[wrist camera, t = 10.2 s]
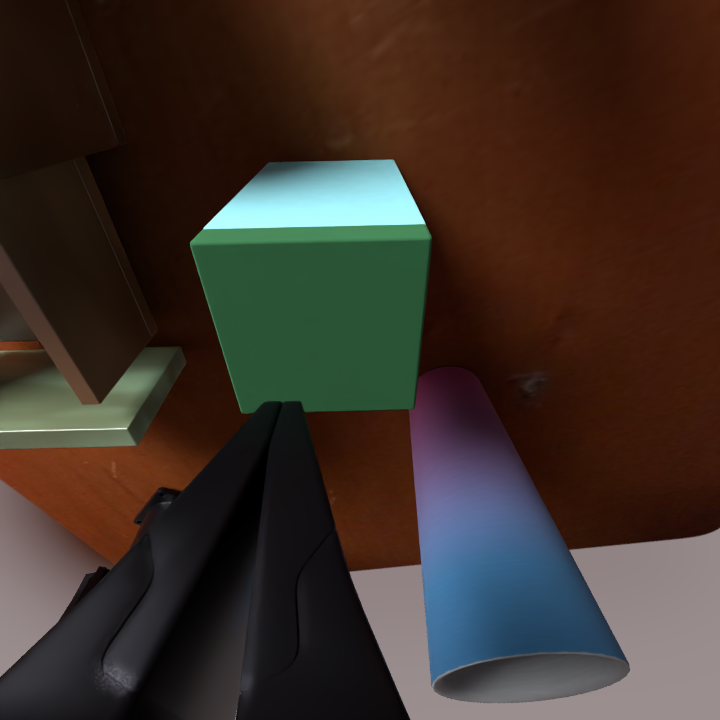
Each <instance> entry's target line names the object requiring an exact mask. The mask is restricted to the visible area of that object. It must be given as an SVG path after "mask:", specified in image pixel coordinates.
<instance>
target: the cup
mask: <svg viewBox="0 0 720 720" xmlns="http://www.w3.org/2000/svg"><path fill="white" fill-rule="evenodd" d="M409 421H410V433H411V445H412V457H413V469H414V481H415V493H416V505H417V517H418V529H419V541H420V553H421V565H422V577H423V589H424V601H425V613H426V625H427V637H428V649H429V661H430V671H431V672H430V673H431V685H432V688H433V689H434V691H435V692H436V693H438V694H439V695H441V696H444V697H447V698H450V699H455V700H460V701H468V702H480V703H517V702H532V701H541V700H549V699H556V698H563V697H569V696H573V695H578V694H583V693H587V692H590V691H594V690H598V689H601V688H604V687H607V686H609V685H612V684H613V683H616V682H618V681H620V680H621V679H623V678H624V677H625V676H626V675H627V674H628V673H629V671H630V668H629V663H628V661H627V660H626V657H625V655H624V654H623V652H622V650H621V648H620V646H619V644H618V642H617V640H616V639H615V637H614V635H613V633H612V631H611V629H610V627H609V625H608V623H607V621H606V620H605V618H604V616H603V614H602V612H601V610H600V608H599V606H598V604H597V602H596V600H595V599H594V597H593V595H592V593H591V591H590V589H589V587H588V585H587V583H586V582H585V580H584V578H583V576H582V574H581V572H580V570H579V568H578V566H577V564H576V563H575V561H574V559H573V557H572V555H571V553H570V551H569V549H568V547H567V545H566V544H565V542H564V540H563V538H562V536H561V534H560V532H559V530H558V528H557V527H556V525H555V523H554V521H553V519H552V517H551V515H550V513H549V511H548V509H547V508H546V506H545V504H544V502H543V500H542V498H541V496H540V494H539V492H538V490H537V489H536V487H535V485H534V483H533V481H532V479H531V477H530V475H529V473H528V472H527V470H526V468H525V466H524V464H523V462H522V460H521V458H520V456H519V454H518V453H517V451H516V449H515V447H514V445H513V443H512V441H511V439H510V437H509V436H508V434H507V432H506V430H505V428H504V426H503V424H502V422H501V420H500V418H499V417H498V415H497V413H496V411H495V409H494V407H493V405H492V403H491V401H490V399H489V398H488V396H487V394H486V392H485V390H484V388H483V386H482V384H481V382H480V381H479V379H478V378H477V377H476V375H474V374H473V373H472V372H470V371H468V370H466V369H463V368H459V367H442V368H437V369H434V370H431V371H428V372H427V373H425V374H423V375H422V376H420V377H419V378H418V384H417V394H416V403H415V408H414V409H413V410H409Z"/></svg>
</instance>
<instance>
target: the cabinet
mask: <svg viewBox="0 0 720 720" xmlns="http://www.w3.org/2000/svg"><path fill="white" fill-rule="evenodd" d="M125 144H128V142H127V139H126V136H125V133H124V130H123V127H122V125H121V122H120V119H119V116H118V113H117V110H116V107H115V105H114V102H113V99H112V96H111V93H110V90H109V88H108V85H107V82H106V79H105V76H104V73H103V70H102V68H101V65H100V62H99V59H98V56H97V53H96V51H95V48H94V45H93V42H92V39H91V36H90V33H89V31H88V28H87V25H86V22H85V19H84V16H83V14H82V11H81V8H80V5H79V2H78V0H0V180H4V179H7V178H11V177H14V176H18V175H21V174H25V173H28V172H32V171H35V170H38V169H42V168H45V167H49V166H52V165H56V164H59V163H63V162H66V161H70V160H73V159H76V158H80V157H83V156H87V155H90V154H94V153H97V152H101V151H104V150H108V149H111V148H114V147H118V146H121V145H125Z"/></svg>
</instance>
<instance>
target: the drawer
mask: <svg viewBox="0 0 720 720" xmlns="http://www.w3.org/2000/svg"><path fill="white" fill-rule="evenodd" d="M157 331H158V329H157V327H156V324H155V322H154V319H153V317H152V315H151V312H150V310H149V308H148V305H147V303H146V300H145V298H144V296H143V293H142V291H141V289H140V286H139V284H138V281H137V279H136V277H135V274H134V272H133V270H132V267H131V265H130V263H129V260H128V258H127V255H126V253H125V251H124V248H123V246H122V244H121V241H120V239H119V236H118V234H117V232H116V229H115V227H114V225H113V222H112V220H111V217H110V215H109V213H108V210H107V208H106V206H105V203H104V201H103V198H102V196H101V194H100V191H99V189H98V187H97V184H96V182H95V180H94V177H93V175H92V172H91V170H90V168H89V165H88V163H87V161H86V158H85V156H83V157H80V158H76V159H73V160H70V161H66V162H63V163H59V164H56V165H52V166H49V167H45V168H42V169H38V170H35V171H32V172H28V173H25V174H21V175H18V176H14V177H11V178H7V179H4V180H0V342H1V341H40V342H41V344H42V345H43V347H44V348H45V350H14V351H0V449H27V448H69V447H110V446H138V444H139V443H140V441H141V439H142V438H143V436H144V434H145V432H146V431H147V429H148V427H149V426H150V424H151V422H152V421H153V419H154V417H155V415H156V414H157V412H158V410H159V409H160V407H161V405H162V403H163V402H164V400H165V398H166V397H167V395H168V393H169V392H170V390H171V388H172V386H173V385H174V383H175V381H176V380H177V378H178V376H179V375H180V373H181V371H182V369H183V368H184V366H185V364H186V359H185V357H184V354H183V352H182V349H181V347H145V346H146V345H147V344H148V342H149V341H150V340H151V338H152V337H153V336H154V334H155V333H156V332H157Z"/></svg>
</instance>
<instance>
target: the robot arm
mask: <svg viewBox="0 0 720 720" xmlns="http://www.w3.org/2000/svg"><path fill="white" fill-rule="evenodd" d="M134 523H135V524H137V525H140V526H141V527H140V529H139V531H138V533H137V535H136V537H135V539H134V541H133V543H132V546H131V548H130V550H129V551H128V552H127V553H126V554H125V555H124V556H123V557H122V558H121V559H120V561H119V562H118V563H117V564H116V565H115V566H114V567H113V568H112V569H111V570H109V569H107V568H106V567H101V566H99V568H98V569H97V571H96V572H95V573H91V574H86V575H85V577H84V579H83V581H82V583H81V585H80V587H79V589H78V590H77V592H76V594H75V596H74V597H73V599H72V601H71V602H70V604H69V606H68V607H67V609H66V610H65V612H64V614H63V615H62V617H61V618H60V620H59V621H58V623H57V624H56V625H55V626H54V627H53V628H52V629H50V630H49V631H48V632H47V633H46V634H45V635H44V636H43V637H42V638H41V639H40V640H39V641H38V642H37V643H36V644H35V645H34V646H33V647H31V648H30V649H29V650H28V651H27V652H26V653H25V654H24V655H23V656H22V657H21V658H20V659H19V660H18V661H17V662H16V663H15V664H14V665H13V666H12V667H11V668H9V669H8V670H7V671H6V672H5V673H4V674H3V675H2V676H1V677H0V720H235V715H236V720H410V718H409V716H408V713H407V711H406V709H405V706H404V704H403V702H402V700H401V697H400V695H399V693H398V690H397V688H396V686H395V683H394V681H393V678H392V676H391V674H390V671H389V669H388V667H387V664H386V662H385V659H384V657H383V655H382V652H381V650H380V648H379V645H378V643H377V641H376V638H375V636H374V634H373V631H372V629H371V627H370V624H369V622H368V619H367V617H366V615H365V612H364V610H363V608H362V605H361V602H360V600H359V597H358V594H357V592H356V589H355V587H354V584H353V581H352V579H351V576H350V573H349V569H348V566H347V563H346V560H345V557H344V553H343V550H342V547H341V543H340V539H339V536H338V532H337V531H336V525H335V522H334V518H333V514H332V511H331V507H330V503H329V500H328V496H327V492H326V489H325V485H324V482H323V478H322V474H321V471H320V467H319V463H318V460H317V456H316V452H315V449H314V445H313V441H312V438H311V434H310V430H309V427H308V423H307V419H306V416H305V412H304V408H303V405H302V402H301V401H285V402H281V401H266V402H264V403H262V404H261V405H260V406H259V408H258V409H257V410H256V411H255V412H254V413H253V414H252V415H251V416H250V418H249V419H248V420H247V421H246V422H245V423H244V424H243V425H242V426H241V427H240V429H239V430H238V431H237V432H236V433H235V434H234V435H233V436H232V437H231V439H230V440H229V441H228V442H227V443H226V444H225V445H224V446H223V447H222V448H221V450H220V451H219V452H218V453H217V454H216V455H215V456H214V457H213V458H212V460H211V461H210V462H209V463H208V464H207V465H206V466H205V467H204V468H203V469H202V471H201V472H200V473H199V474H198V475H197V476H196V477H195V478H194V479H193V481H192V482H191V483H190V484H189V485H188V486H187V487H186V488H185V489H184V490H183V492H182V493H179V492H176V491H173V490H170V489H168V488H164V487H161V488H159V489H158V490H157V491H156V492H155V493H154V495H153V496H152V497H151V498H150V500H149V501H148V502H147V503H146V505H145V506H144V507H143V508H142V509H141V511H140V512H139V513H138V514H137V516H136V517H135V519H134ZM240 692H241V694H240ZM237 706H238V707H237ZM236 711H237V714H236Z"/></svg>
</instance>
